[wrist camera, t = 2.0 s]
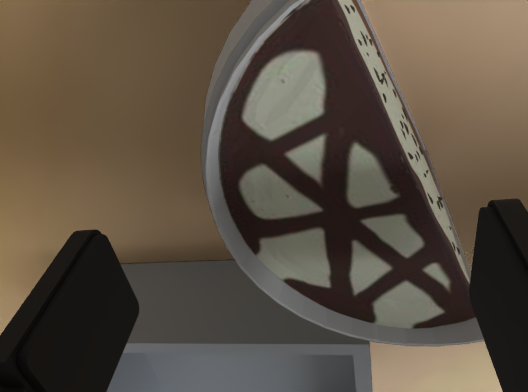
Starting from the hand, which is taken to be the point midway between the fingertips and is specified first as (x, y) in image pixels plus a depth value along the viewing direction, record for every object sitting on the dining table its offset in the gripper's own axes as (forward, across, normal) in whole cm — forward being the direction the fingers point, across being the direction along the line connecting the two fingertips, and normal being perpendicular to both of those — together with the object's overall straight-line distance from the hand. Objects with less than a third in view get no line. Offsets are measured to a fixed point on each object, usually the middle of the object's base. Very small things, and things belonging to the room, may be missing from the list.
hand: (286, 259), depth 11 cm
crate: (+11, +6, +19) cm, 23 cm away
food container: (+11, -1, 0) cm, 11 cm away
